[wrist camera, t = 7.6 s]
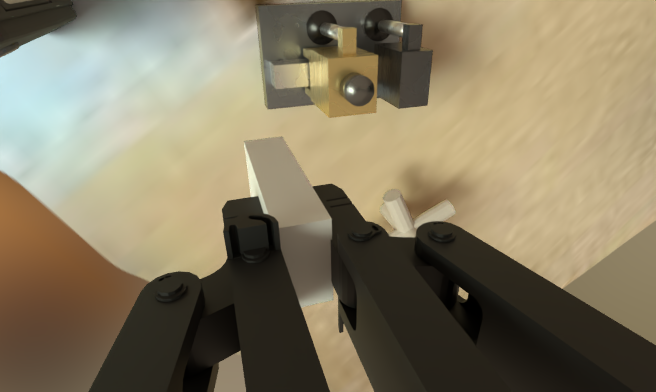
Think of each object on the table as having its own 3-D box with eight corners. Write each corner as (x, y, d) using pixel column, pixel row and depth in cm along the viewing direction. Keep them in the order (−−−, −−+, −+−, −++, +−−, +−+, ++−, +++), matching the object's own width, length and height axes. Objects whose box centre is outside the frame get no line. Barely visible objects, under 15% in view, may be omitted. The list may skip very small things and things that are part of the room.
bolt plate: (393, -1, 35) (447, 3, 27) (389, 92, 38) (435, 116, 31) (255, 5, 32) (274, 10, 24) (265, 104, 35) (284, 135, 28)
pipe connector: (330, 198, 42) (366, 252, 33) (411, 150, 42) (467, 191, 34) (365, 260, 47) (403, 320, 39) (437, 217, 47) (491, 267, 39)
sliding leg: (345, 20, 32) (388, 30, 25) (345, 91, 35) (384, 117, 28) (302, 22, 31) (334, 33, 24) (305, 95, 34) (335, 123, 27)
